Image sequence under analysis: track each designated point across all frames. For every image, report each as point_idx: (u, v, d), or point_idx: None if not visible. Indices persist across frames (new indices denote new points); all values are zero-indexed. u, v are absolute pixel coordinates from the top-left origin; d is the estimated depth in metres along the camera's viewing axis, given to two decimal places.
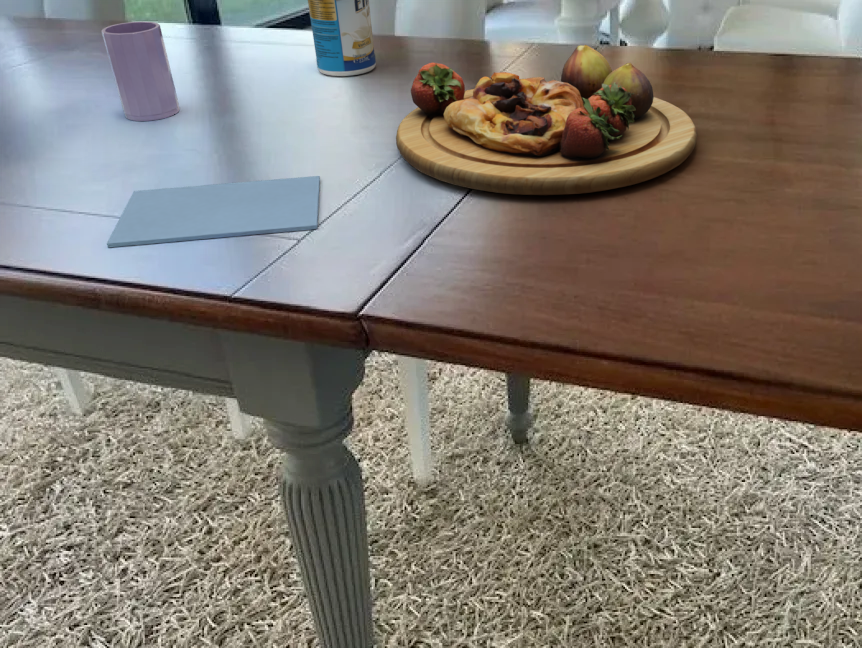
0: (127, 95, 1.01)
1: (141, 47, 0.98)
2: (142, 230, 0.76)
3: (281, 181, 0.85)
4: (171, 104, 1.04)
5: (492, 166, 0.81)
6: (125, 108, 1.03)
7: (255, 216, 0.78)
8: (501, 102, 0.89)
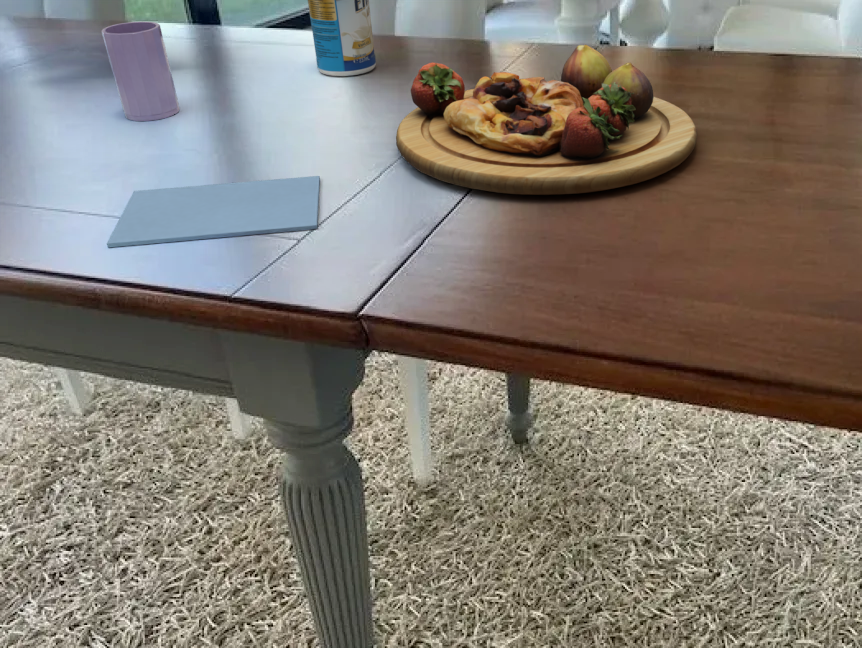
0: (127, 95, 1.01)
1: (141, 47, 0.98)
2: (142, 230, 0.76)
3: (281, 181, 0.85)
4: (171, 104, 1.04)
5: (492, 166, 0.81)
6: (125, 108, 1.03)
7: (255, 216, 0.78)
8: (501, 102, 0.89)
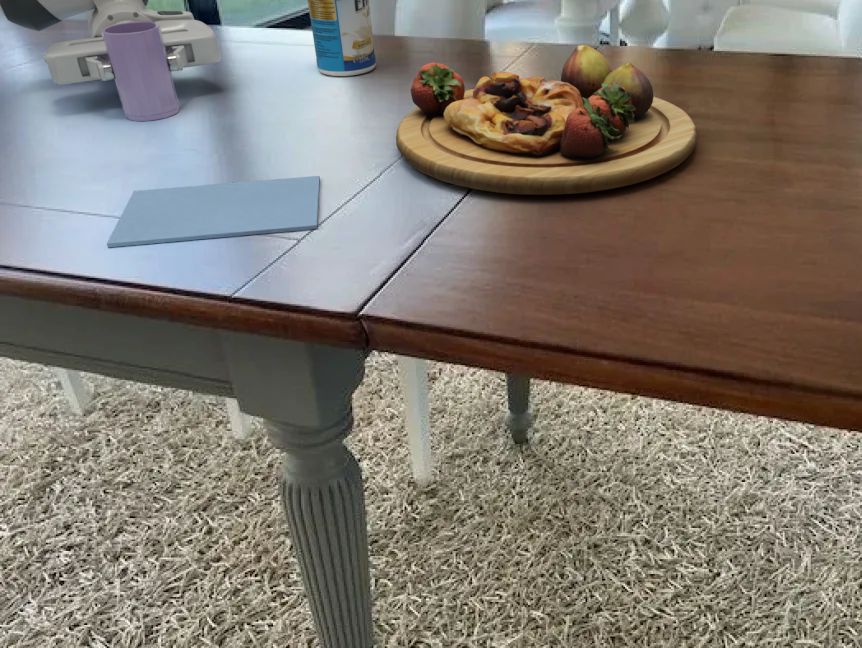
0: (127, 95, 1.01)
1: (141, 47, 0.98)
2: (142, 230, 0.76)
3: (281, 181, 0.85)
4: (171, 104, 1.04)
5: (492, 166, 0.81)
6: (125, 108, 1.03)
7: (255, 216, 0.78)
8: (501, 102, 0.89)
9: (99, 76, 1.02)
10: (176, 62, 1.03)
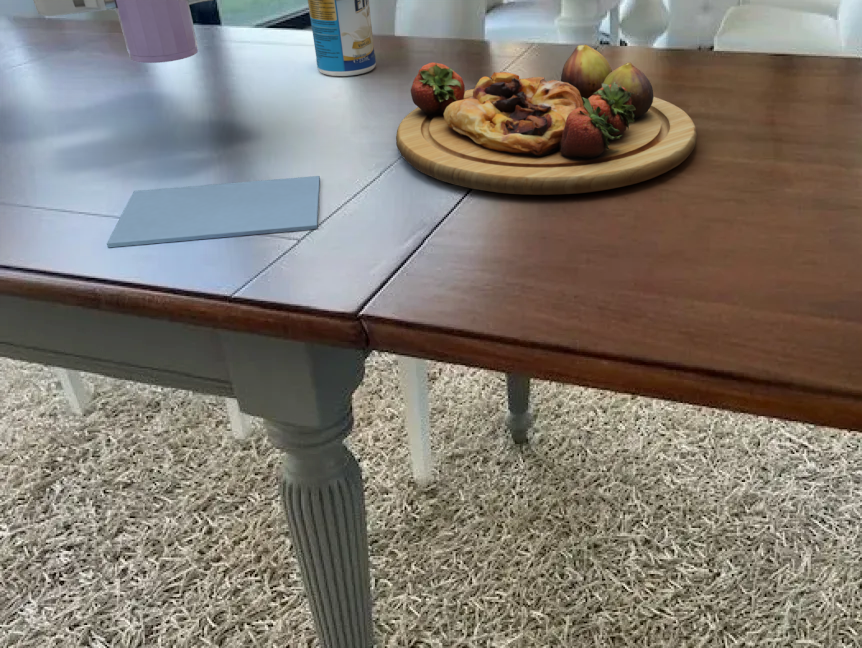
0: (132, 28, 0.79)
1: None
2: (142, 230, 0.76)
3: (281, 181, 0.85)
4: (188, 42, 0.81)
5: (492, 166, 0.81)
6: (130, 46, 0.80)
7: (255, 216, 0.78)
8: (501, 102, 0.89)
9: (96, 5, 0.79)
10: None
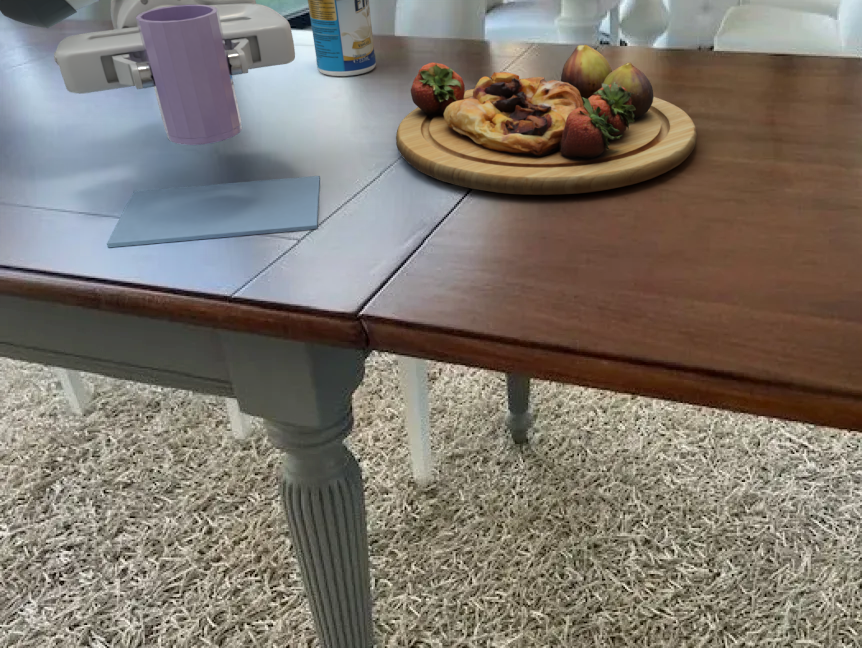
0: (172, 109, 0.72)
1: (193, 41, 0.69)
2: (142, 230, 0.76)
3: (281, 181, 0.85)
4: (232, 121, 0.74)
5: (492, 166, 0.81)
6: (168, 127, 0.73)
7: (255, 216, 0.78)
8: (501, 102, 0.89)
9: (132, 82, 0.72)
10: (240, 62, 0.73)
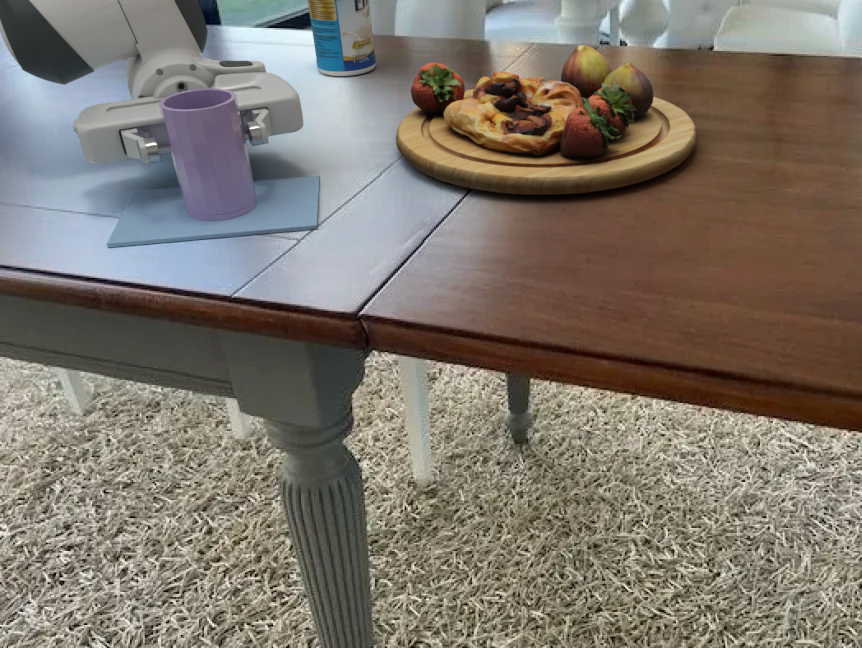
0: (191, 188, 0.76)
1: (213, 127, 0.73)
2: (142, 230, 0.76)
3: (281, 181, 0.85)
4: (248, 197, 0.78)
5: (492, 166, 0.81)
6: (188, 204, 0.77)
7: (255, 216, 0.78)
8: (501, 102, 0.89)
9: (140, 157, 0.75)
10: (261, 134, 0.77)
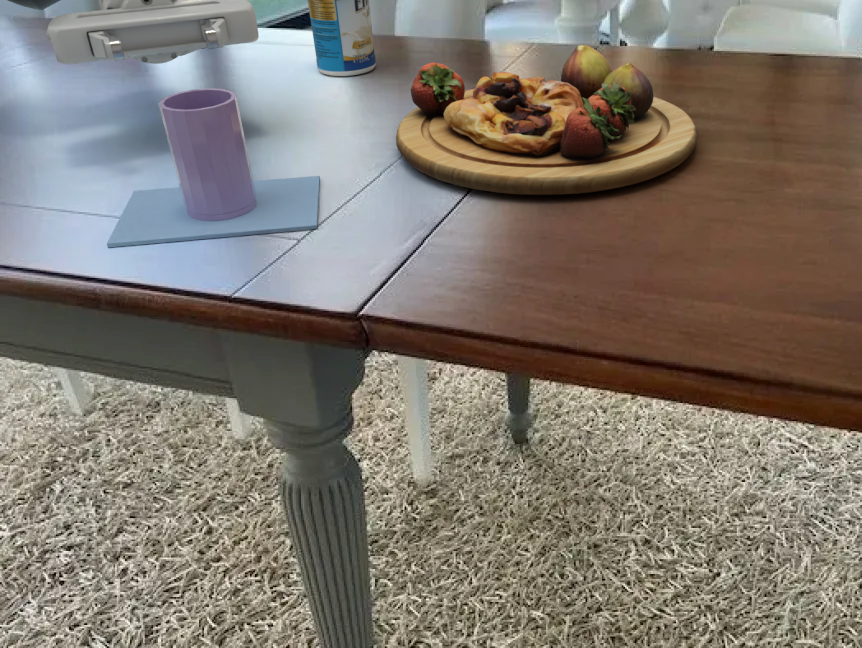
0: (191, 188, 0.76)
1: (213, 127, 0.73)
2: (142, 230, 0.76)
3: (281, 181, 0.85)
4: (248, 197, 0.78)
5: (492, 166, 0.81)
6: (188, 204, 0.77)
7: (255, 216, 0.78)
8: (501, 102, 0.89)
9: (105, 55, 0.83)
10: (216, 37, 0.85)
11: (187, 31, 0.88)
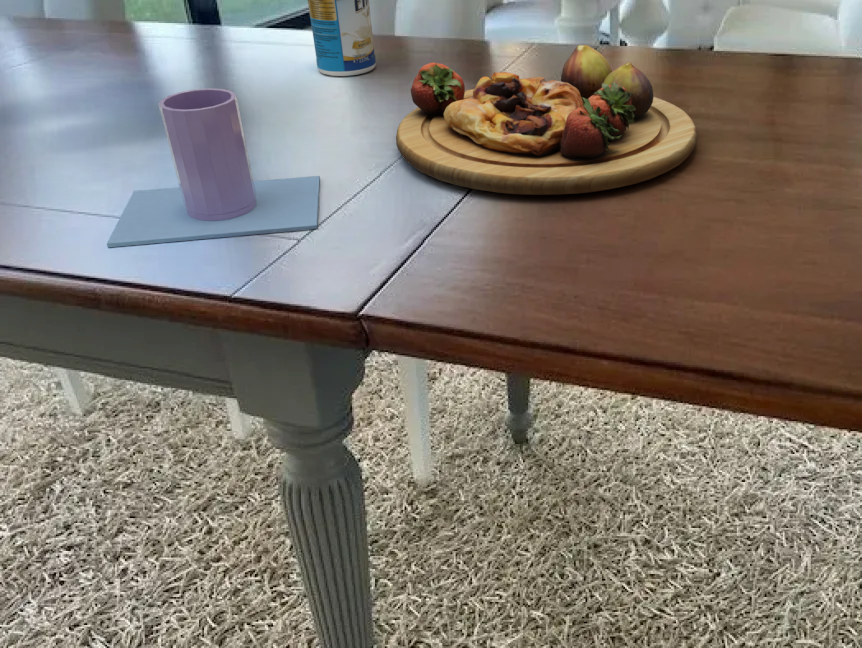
0: (191, 188, 0.76)
1: (213, 127, 0.73)
2: (142, 230, 0.76)
3: (281, 181, 0.85)
4: (248, 197, 0.78)
5: (492, 166, 0.81)
6: (188, 204, 0.77)
7: (255, 216, 0.78)
8: (501, 102, 0.89)
9: None
10: None
11: None
